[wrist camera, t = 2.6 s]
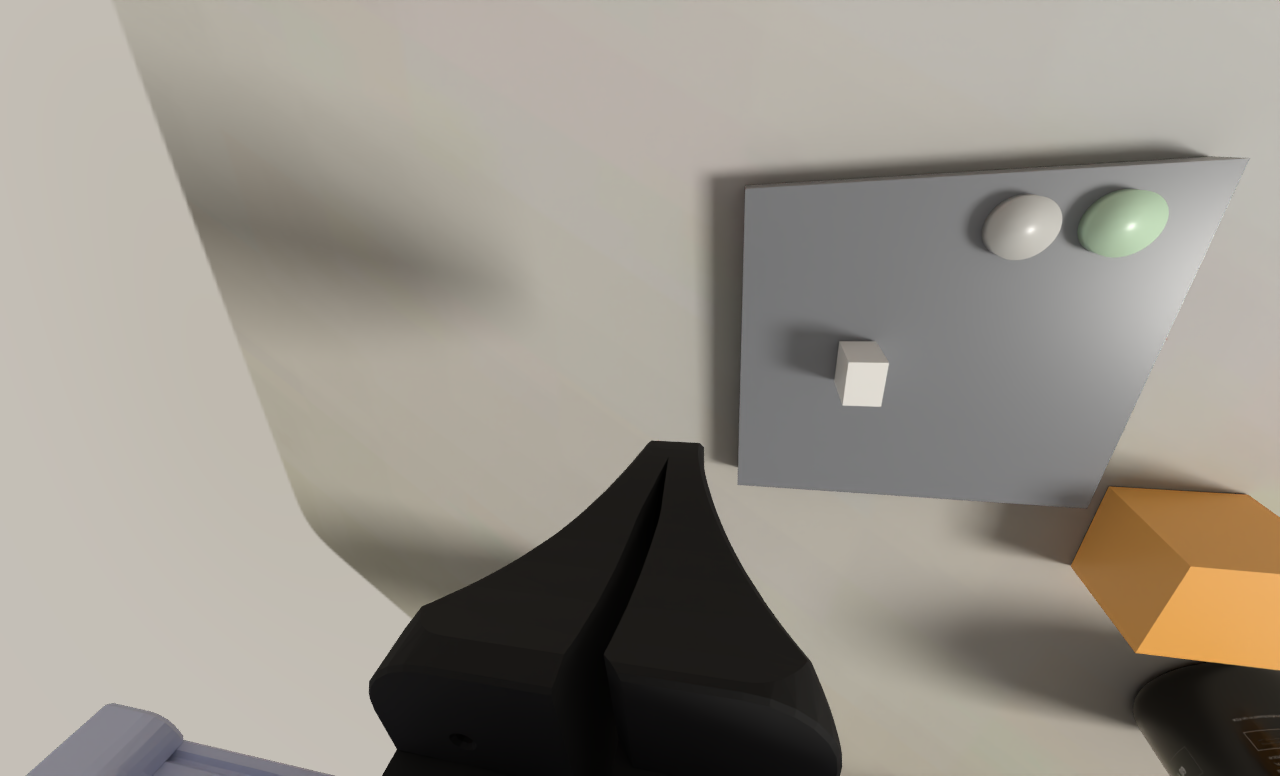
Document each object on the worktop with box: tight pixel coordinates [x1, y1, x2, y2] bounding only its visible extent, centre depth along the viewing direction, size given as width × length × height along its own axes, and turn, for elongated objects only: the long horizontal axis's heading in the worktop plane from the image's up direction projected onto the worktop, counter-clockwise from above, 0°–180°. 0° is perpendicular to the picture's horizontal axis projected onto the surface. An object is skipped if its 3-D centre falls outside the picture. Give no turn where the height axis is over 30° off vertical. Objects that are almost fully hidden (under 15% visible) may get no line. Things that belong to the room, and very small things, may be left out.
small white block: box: [834, 341, 889, 407], centre depth 16 cm, size 1×2×2 cm
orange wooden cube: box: [1071, 487, 1280, 670], centre depth 17 cm, size 4×4×4 cm
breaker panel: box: [738, 156, 1250, 509], centre depth 17 cm, size 13×12×2 cm
